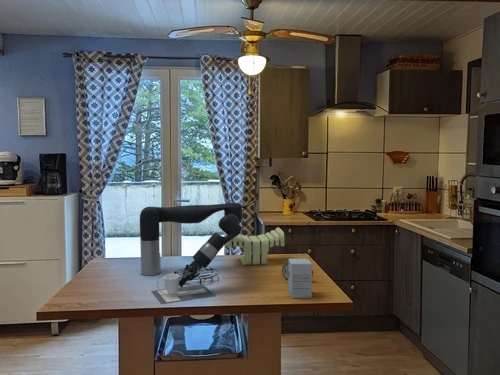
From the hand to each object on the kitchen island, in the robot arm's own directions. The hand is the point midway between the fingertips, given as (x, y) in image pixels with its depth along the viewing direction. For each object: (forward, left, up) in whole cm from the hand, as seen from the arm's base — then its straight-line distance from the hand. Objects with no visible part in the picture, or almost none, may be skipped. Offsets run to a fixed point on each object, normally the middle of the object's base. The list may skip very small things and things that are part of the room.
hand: (179, 285), depth 200 cm
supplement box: (-19, +48, -4) cm, 52 cm away
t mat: (-1, +1, -4) cm, 4 cm away
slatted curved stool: (-62, +10, -4) cm, 63 cm away
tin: (-39, +41, -4) cm, 57 cm away
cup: (+2, -4, -4) cm, 6 cm away
